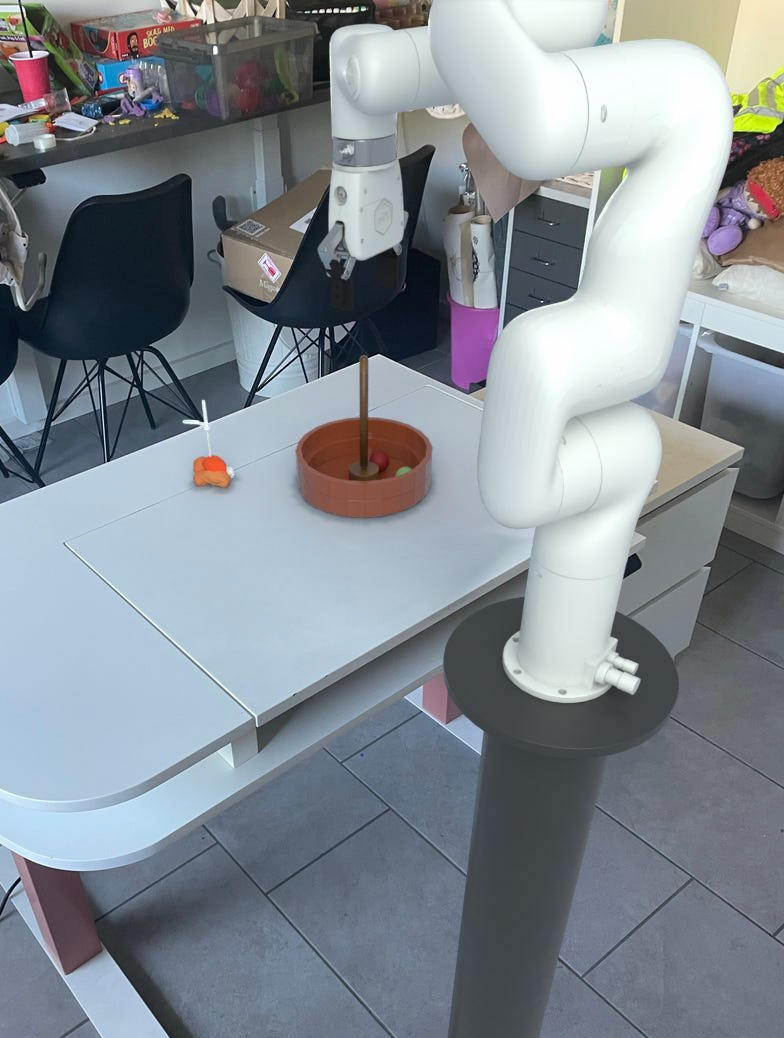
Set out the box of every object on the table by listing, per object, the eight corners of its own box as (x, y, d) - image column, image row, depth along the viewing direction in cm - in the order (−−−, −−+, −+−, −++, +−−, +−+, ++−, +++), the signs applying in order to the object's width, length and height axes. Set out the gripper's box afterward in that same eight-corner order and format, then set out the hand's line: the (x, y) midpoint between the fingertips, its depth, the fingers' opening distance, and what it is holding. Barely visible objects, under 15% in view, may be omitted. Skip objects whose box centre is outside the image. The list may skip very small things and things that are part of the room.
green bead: (407, 487, 139) (422, 479, 137) (397, 493, 136) (413, 485, 134) (397, 469, 138) (413, 461, 136) (388, 475, 136) (403, 466, 134)
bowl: (455, 476, 140) (458, 440, 136) (379, 536, 129) (379, 498, 125) (350, 440, 150) (350, 405, 146) (270, 493, 139) (268, 456, 135)
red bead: (386, 477, 141) (395, 459, 141) (379, 469, 138) (388, 451, 138) (369, 471, 142) (379, 454, 142) (362, 463, 140) (371, 445, 140)
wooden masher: (384, 479, 139) (386, 353, 127) (367, 492, 136) (367, 365, 124) (360, 470, 141) (360, 346, 129) (343, 483, 139) (341, 357, 126)
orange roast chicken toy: (209, 460, 147) (201, 388, 139) (244, 484, 141) (237, 410, 133) (177, 473, 144) (166, 401, 136) (211, 498, 138) (202, 423, 130)
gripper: (345, 170, 103) (348, 324, 114) (431, 138, 113) (426, 282, 124) (292, 163, 107) (300, 312, 118) (381, 133, 117) (380, 273, 128)
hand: (365, 297), depth 121 cm, fingers open, 9 cm apart
